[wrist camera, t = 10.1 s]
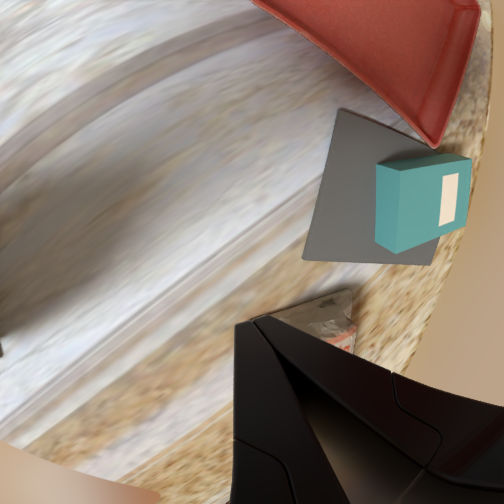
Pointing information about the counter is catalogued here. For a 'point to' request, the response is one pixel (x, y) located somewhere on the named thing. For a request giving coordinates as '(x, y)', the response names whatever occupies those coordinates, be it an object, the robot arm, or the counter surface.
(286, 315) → the packaged product
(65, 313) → the counter surface
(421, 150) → the mat
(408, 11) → the plant saucer
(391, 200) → the box
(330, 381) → the robot arm
